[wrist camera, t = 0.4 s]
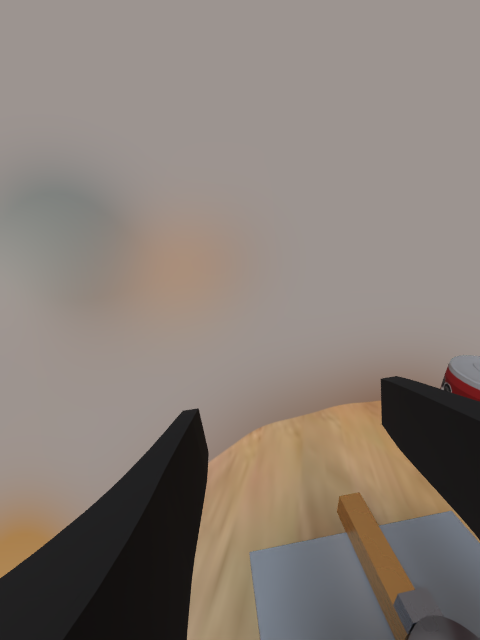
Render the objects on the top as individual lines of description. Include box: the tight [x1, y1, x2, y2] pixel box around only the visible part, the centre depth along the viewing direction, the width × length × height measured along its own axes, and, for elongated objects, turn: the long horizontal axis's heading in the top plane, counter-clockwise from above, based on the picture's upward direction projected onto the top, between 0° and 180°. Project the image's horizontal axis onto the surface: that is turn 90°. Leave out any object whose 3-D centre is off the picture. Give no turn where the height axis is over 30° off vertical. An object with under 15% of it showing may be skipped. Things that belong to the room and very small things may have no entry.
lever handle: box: [337, 493, 480, 640], centre depth 16 cm, size 13×5×4 cm, turn 7°
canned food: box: [440, 355, 480, 401], centre depth 28 cm, size 8×8×11 cm
